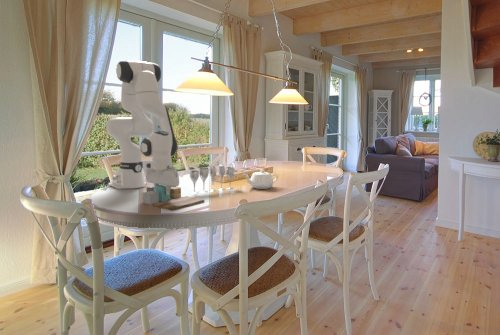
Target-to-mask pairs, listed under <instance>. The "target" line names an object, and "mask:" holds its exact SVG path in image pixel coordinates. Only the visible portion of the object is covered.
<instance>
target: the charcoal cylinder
mask: <svg viewBox="0 0 500 335" xmlns="http://www.w3.org/2000/svg"><path fill="white" fill-rule="evenodd" d="M145 187H146V186H145ZM145 190H146V191H145V192H148V191H155V187H154V186H147V187H146V188H145Z"/></svg>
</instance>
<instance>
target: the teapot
mask: <svg viewBox="0 0 500 335" xmlns="http://www.w3.org/2000/svg"><path fill="white" fill-rule="evenodd" d="M242 175H243V176H245V179H246V182H247V183H248V184H249V185H250V186H251V187H252V188H253V189H257V190H267V189H270V188H271V187H273V185H274V183H275V182H276V181H277V180H278V177H279V176H278V174H275V173H271V172H267V171H265V169H263V168H262V169H259V171H256V172H255V171H254V172H253V173H252V175H251V177H249V175H248V174H246V173H243V174H242ZM273 176H275V178H273Z"/></svg>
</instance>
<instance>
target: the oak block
mask: <svg viewBox="0 0 500 335" xmlns="http://www.w3.org/2000/svg"><path fill="white" fill-rule="evenodd" d="M181 197H182V187H179V186H177V187H171V189H170V200H172V199H177V198H181Z"/></svg>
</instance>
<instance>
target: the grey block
mask: <svg viewBox="0 0 500 335" xmlns="http://www.w3.org/2000/svg"><path fill="white" fill-rule="evenodd" d="M142 203H143V204H147V205H154V204H155V203H160V201H159V192H155V191H148V192H147V191H145V192H144V191H143V192H142Z"/></svg>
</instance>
